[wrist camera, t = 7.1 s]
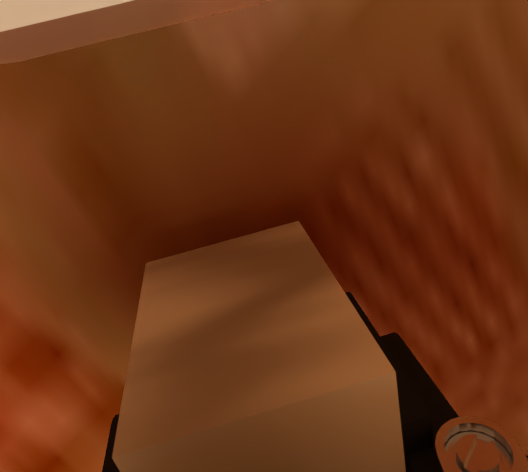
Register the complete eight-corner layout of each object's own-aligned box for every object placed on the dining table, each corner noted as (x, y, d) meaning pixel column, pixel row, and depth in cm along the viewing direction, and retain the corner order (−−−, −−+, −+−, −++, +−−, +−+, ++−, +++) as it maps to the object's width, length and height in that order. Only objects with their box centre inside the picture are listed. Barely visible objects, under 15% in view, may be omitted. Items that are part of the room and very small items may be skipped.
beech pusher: (298, 220, 11) (395, 372, 6) (327, 363, 13) (414, 560, 8) (145, 263, 10) (111, 458, 6) (201, 401, 13) (212, 628, 8)
